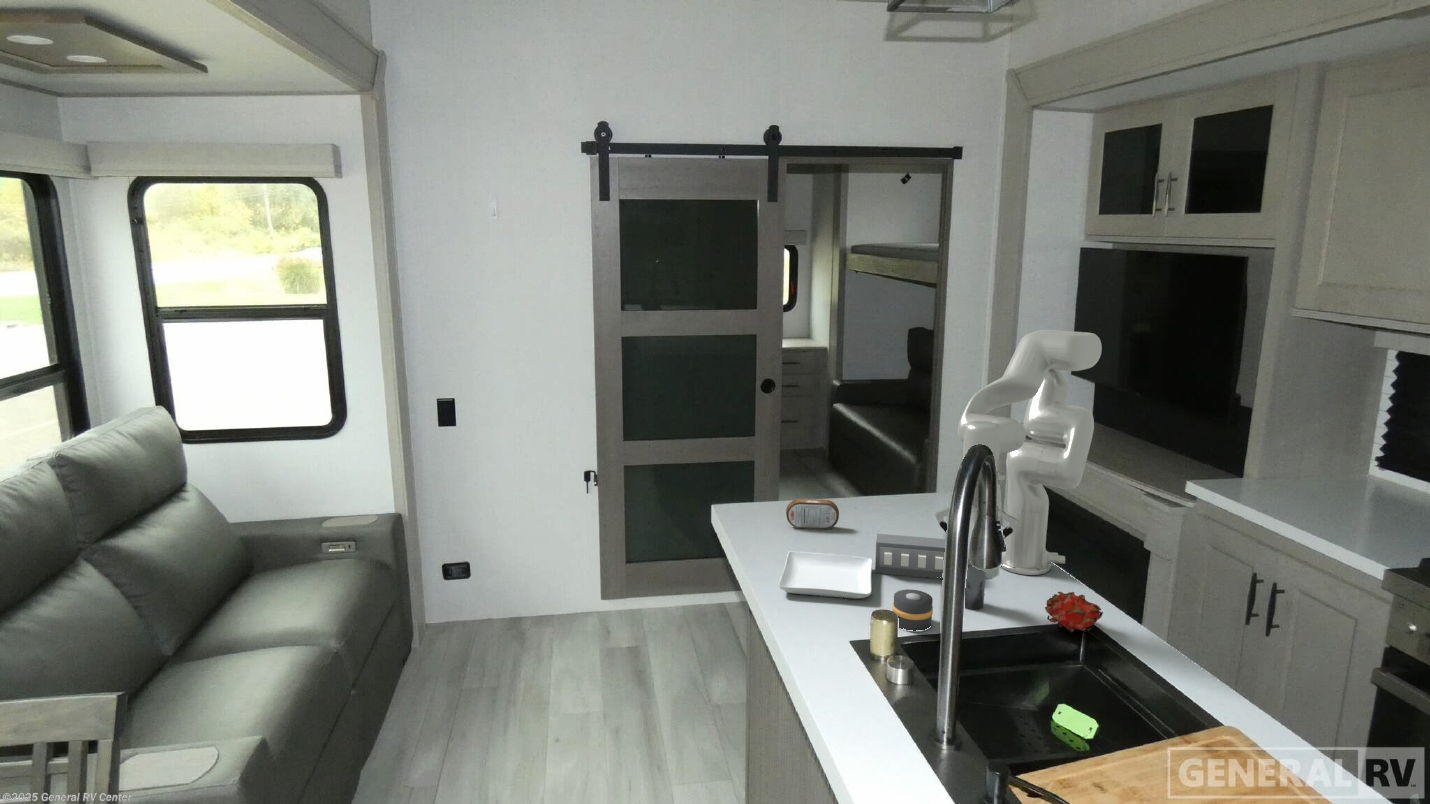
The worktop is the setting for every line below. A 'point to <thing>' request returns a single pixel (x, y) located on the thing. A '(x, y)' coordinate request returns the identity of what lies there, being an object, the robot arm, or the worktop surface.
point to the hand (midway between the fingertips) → (973, 553)
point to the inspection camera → (974, 588)
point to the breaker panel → (909, 556)
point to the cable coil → (913, 609)
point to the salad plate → (827, 575)
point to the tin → (812, 513)
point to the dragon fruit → (1072, 611)
